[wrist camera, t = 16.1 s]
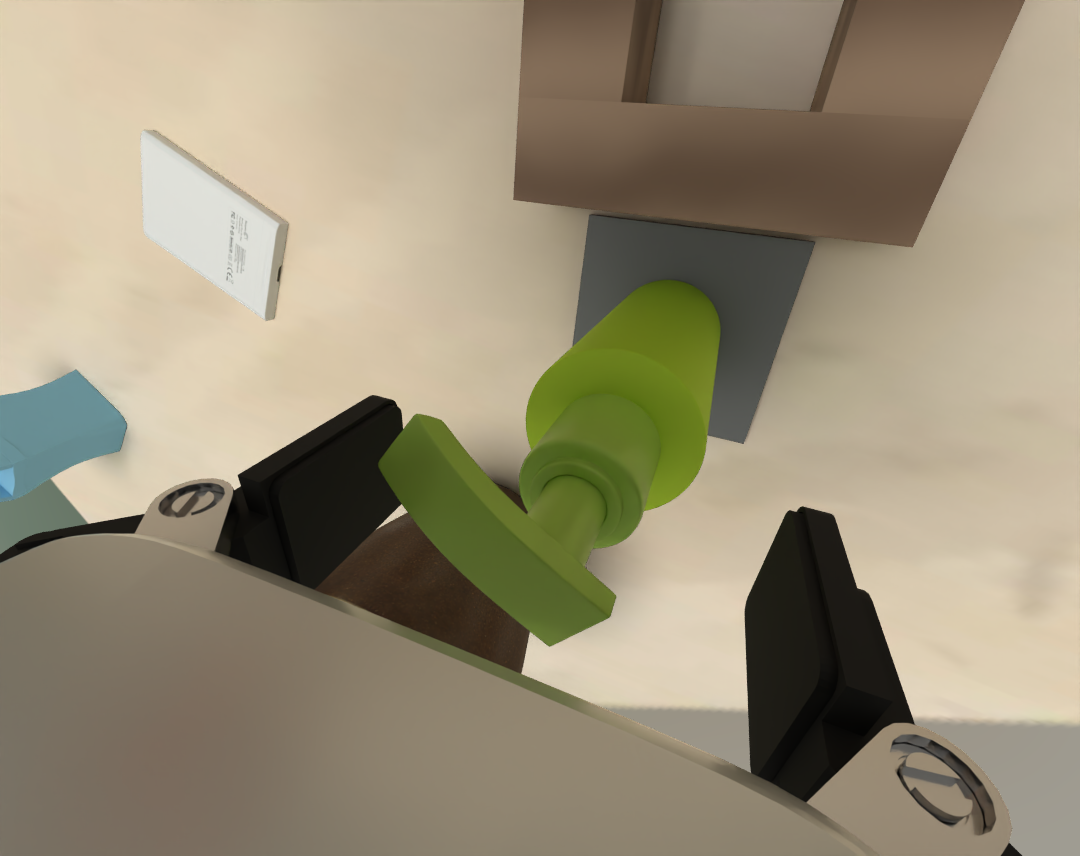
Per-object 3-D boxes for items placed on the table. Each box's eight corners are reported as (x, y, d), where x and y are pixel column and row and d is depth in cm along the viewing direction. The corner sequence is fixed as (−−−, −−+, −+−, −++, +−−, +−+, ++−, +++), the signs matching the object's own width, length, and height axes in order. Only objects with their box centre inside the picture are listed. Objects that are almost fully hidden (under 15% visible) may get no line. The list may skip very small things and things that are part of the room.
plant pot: (622, 570, 35) (552, 802, 21) (488, 606, 43) (375, 793, 29) (513, 409, 32) (355, 560, 19) (390, 480, 40) (218, 622, 27)
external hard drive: (163, 131, 34) (295, 222, 33) (164, 235, 38) (279, 318, 37) (139, 128, 32) (275, 223, 31) (142, 236, 37) (262, 322, 36)
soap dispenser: (653, 240, 24) (455, 349, 7) (744, 335, 24) (759, 650, 7) (579, 319, 27) (325, 521, 10) (661, 402, 27) (541, 725, 11)
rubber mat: (592, 214, 25) (589, 214, 24) (813, 241, 22) (815, 242, 21) (568, 397, 30) (565, 400, 30) (743, 439, 27) (743, 443, 27)
